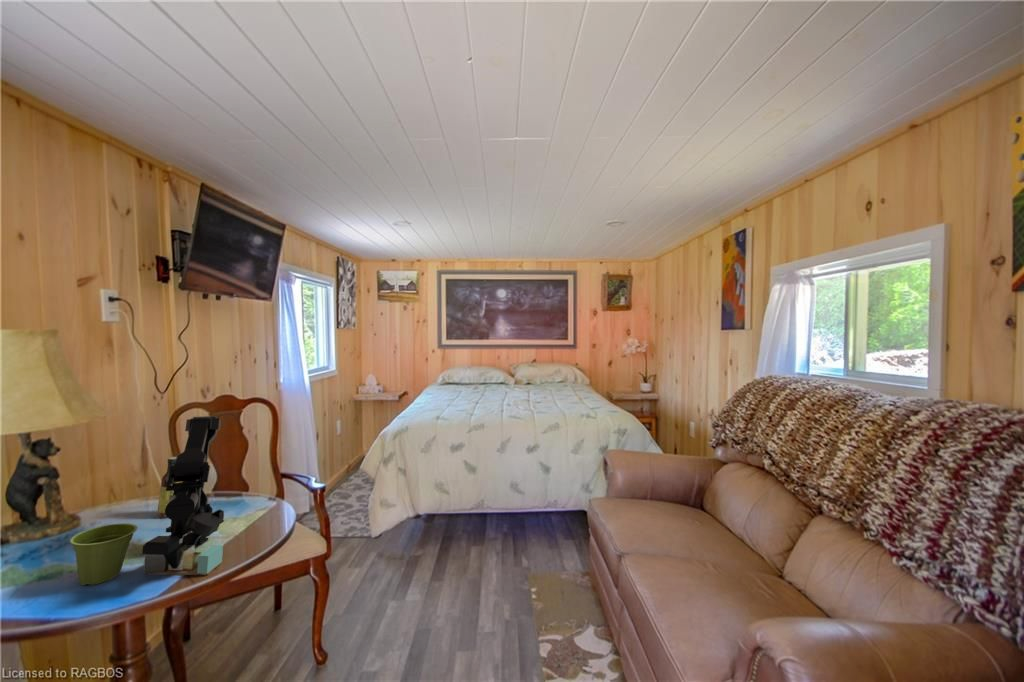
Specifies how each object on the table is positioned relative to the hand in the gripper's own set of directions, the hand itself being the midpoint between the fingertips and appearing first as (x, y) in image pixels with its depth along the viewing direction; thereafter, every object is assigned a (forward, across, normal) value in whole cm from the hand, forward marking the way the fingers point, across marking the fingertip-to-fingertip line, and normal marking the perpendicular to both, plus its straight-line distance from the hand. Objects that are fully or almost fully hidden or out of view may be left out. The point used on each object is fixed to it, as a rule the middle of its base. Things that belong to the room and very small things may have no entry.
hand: (181, 563), depth 102 cm
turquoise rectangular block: (+1, 0, -8) cm, 8 cm away
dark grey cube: (+1, 0, +5) cm, 5 cm away
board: (+1, 0, -1) cm, 2 cm away
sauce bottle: (+2, +33, +29) cm, 44 cm away
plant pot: (+2, -4, +16) cm, 17 cm away
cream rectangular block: (+1, 0, +1) cm, 2 cm away
